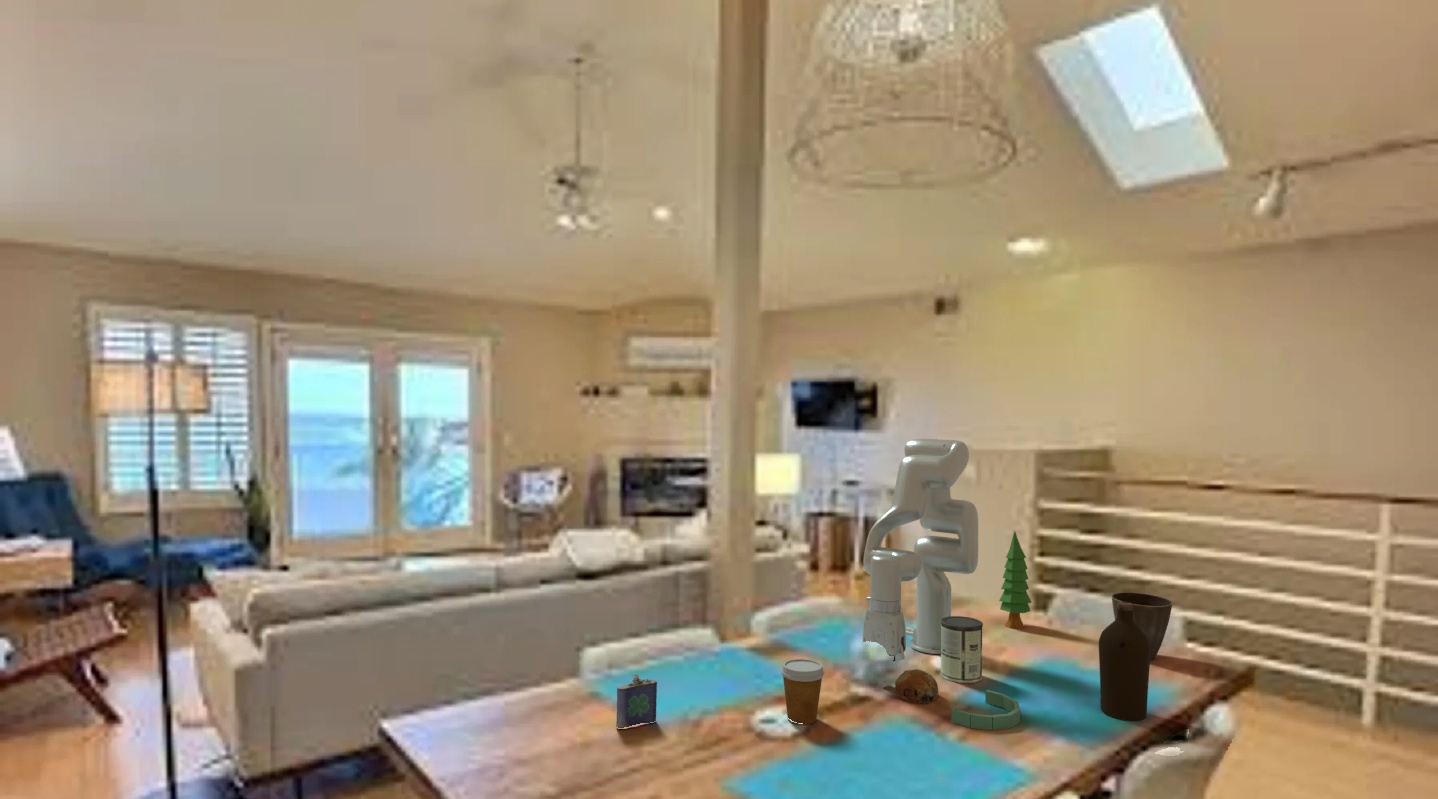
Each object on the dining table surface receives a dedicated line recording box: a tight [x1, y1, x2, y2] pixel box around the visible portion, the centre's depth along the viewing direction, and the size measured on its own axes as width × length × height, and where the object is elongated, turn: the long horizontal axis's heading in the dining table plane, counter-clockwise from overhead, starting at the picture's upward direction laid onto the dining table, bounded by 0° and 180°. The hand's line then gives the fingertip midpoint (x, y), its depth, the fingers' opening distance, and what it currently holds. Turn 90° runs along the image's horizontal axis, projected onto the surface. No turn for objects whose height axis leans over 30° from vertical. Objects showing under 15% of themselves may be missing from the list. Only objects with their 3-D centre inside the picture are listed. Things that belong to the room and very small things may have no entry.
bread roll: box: [894, 668, 939, 704], centre depth 196 cm, size 10×10×8 cm
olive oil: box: [1098, 602, 1151, 722], centre depth 186 cm, size 11×11×25 cm
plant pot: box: [1111, 591, 1173, 661], centre depth 227 cm, size 15×15×16 cm
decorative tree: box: [998, 530, 1032, 630], centre depth 256 cm, size 10×9×30 cm
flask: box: [616, 673, 658, 728], centre depth 177 cm, size 9×3×11 cm, turn 121°
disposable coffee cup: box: [780, 658, 825, 725], centre depth 181 cm, size 10×10×12 cm
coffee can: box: [940, 615, 984, 684], centre depth 209 cm, size 10×10×14 cm
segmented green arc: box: [950, 689, 1021, 731], centre depth 183 cm, size 11×17×3 cm, turn 136°
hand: (884, 679), depth 202 cm, fingers closed
